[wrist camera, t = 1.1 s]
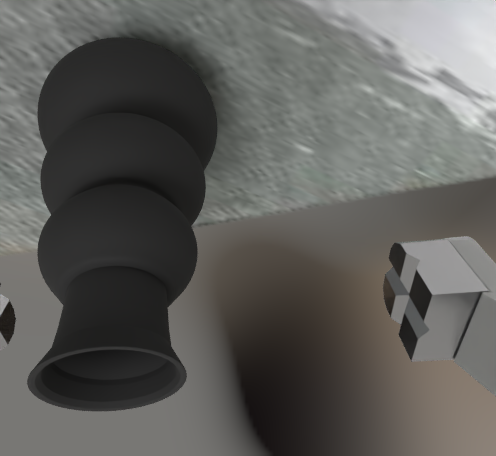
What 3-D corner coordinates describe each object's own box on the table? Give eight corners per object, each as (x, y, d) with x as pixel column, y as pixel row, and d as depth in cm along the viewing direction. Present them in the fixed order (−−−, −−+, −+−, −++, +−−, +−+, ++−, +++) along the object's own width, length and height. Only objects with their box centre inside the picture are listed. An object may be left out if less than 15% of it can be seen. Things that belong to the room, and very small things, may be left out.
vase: (238, 114, 52) (303, 377, 29) (128, 179, 57) (105, 449, 34) (145, -24, 40) (122, 244, 16) (13, 75, 45) (-152, 391, 21)
